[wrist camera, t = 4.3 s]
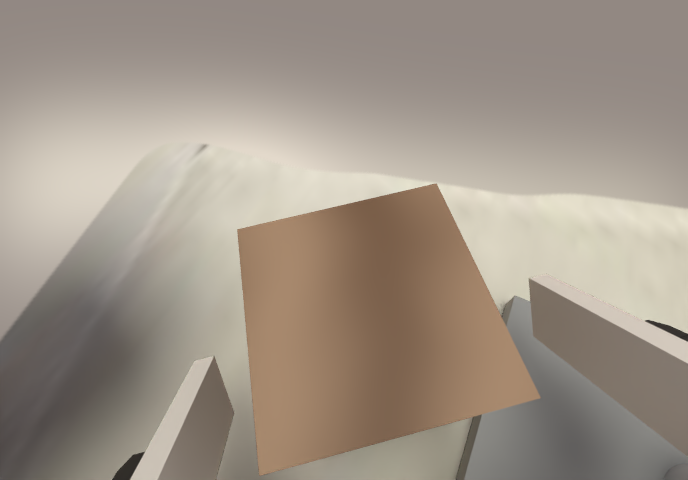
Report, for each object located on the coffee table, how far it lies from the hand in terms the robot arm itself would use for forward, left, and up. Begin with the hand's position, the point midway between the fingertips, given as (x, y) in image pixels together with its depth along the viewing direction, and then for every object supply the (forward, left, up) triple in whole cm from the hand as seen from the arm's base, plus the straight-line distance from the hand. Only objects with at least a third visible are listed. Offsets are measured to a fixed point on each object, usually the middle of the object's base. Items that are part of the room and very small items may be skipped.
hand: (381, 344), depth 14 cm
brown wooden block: (-1, 0, -6) cm, 6 cm away
